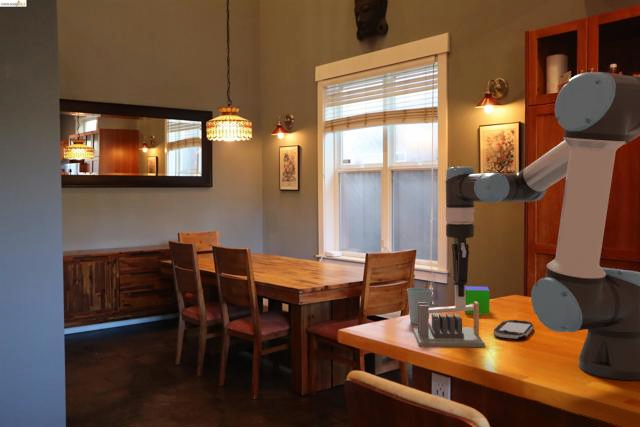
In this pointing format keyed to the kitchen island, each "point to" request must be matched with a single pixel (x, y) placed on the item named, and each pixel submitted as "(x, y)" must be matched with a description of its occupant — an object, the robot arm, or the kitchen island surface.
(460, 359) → the kitchen island surface
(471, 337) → the grey slotted rack
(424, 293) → the cup
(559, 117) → the robot arm
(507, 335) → the gaming console
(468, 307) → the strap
